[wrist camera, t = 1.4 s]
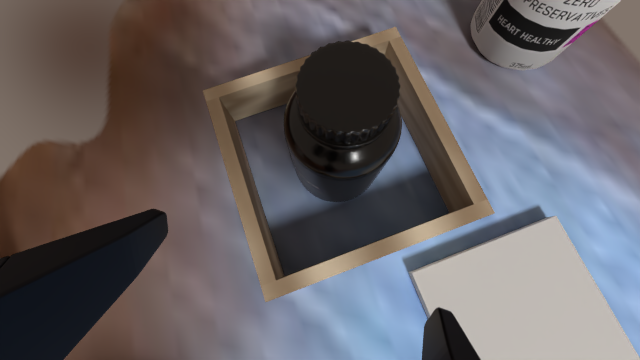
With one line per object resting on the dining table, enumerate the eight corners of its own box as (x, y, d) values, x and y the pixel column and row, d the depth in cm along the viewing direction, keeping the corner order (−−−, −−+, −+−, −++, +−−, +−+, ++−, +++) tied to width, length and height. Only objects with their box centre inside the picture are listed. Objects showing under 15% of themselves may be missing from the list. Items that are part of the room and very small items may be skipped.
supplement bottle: (286, 192, 24) (248, 131, 12) (308, 119, 26) (294, 6, 14) (366, 214, 23) (407, 172, 12) (385, 138, 25) (435, 36, 13)
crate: (276, 294, 22) (265, 302, 18) (221, 115, 26) (202, 90, 22) (466, 220, 23) (494, 213, 19) (385, 59, 27) (395, 26, 23)
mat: (484, 450, 19) (493, 460, 18) (408, 272, 22) (412, 273, 21) (640, 380, 20) (656, 386, 19) (546, 217, 23) (556, 215, 22)
